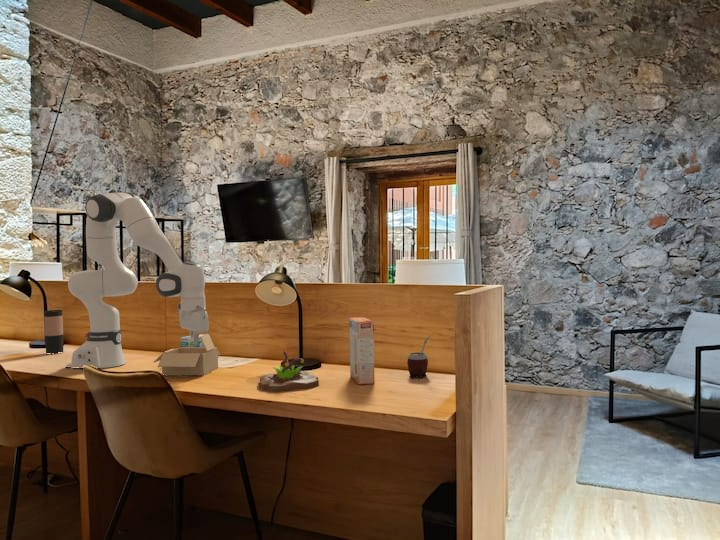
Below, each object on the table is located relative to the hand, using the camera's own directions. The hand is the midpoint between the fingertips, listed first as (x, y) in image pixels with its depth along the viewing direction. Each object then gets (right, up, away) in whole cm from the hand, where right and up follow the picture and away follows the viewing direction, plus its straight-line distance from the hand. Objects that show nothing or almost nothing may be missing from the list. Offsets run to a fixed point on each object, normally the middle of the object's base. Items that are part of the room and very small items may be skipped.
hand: (194, 342), depth 210 cm
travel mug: (-81, -12, +52) cm, 97 cm away
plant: (+38, -12, -23) cm, 46 cm away
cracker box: (+63, -11, -20) cm, 67 cm away
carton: (-4, -11, +4) cm, 12 cm away
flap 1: (-3, -3, -6) cm, 8 cm away
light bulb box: (-6, -11, +22) cm, 25 cm away
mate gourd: (+83, -10, -17) cm, 85 cm away
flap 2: (+6, -3, -1) cm, 7 cm away
